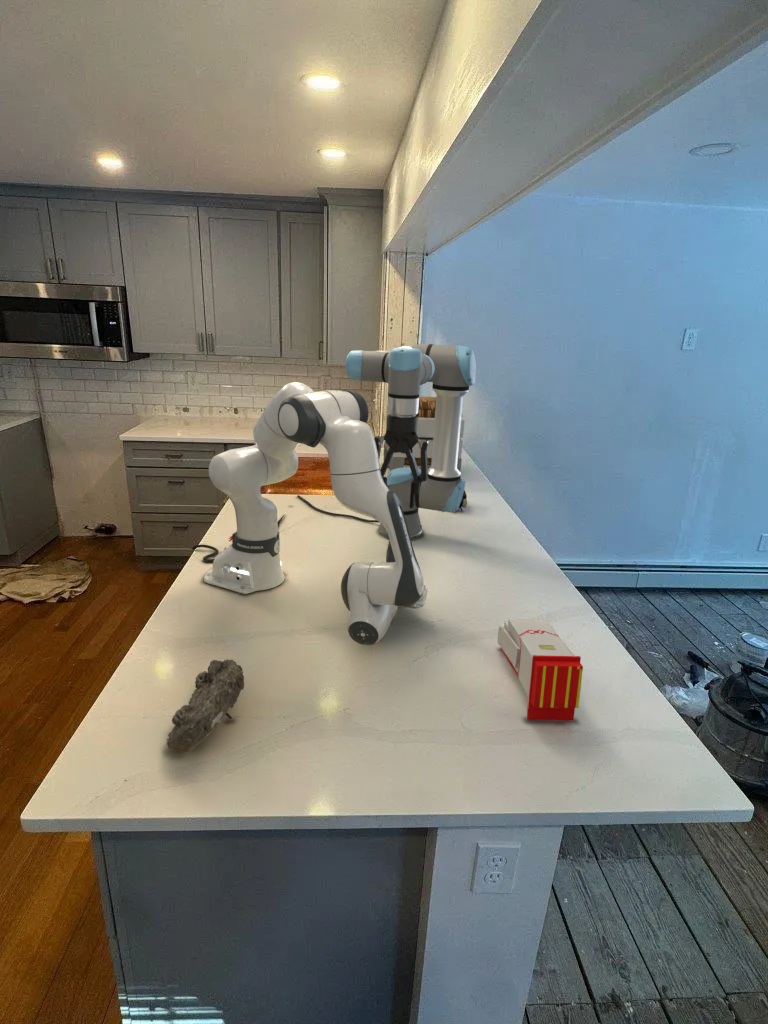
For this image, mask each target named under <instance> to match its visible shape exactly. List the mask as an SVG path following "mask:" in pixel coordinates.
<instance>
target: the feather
mask: <svg viewBox="0 0 768 1024" xmlns="http://www.w3.org/2000/svg"><path fill="white" fill-rule="evenodd" d="M285 515H286V514H283V515H282V516H281V518H279V519H278V520H277V522H278V527H279V526H280V524H281V522H282V520H283V519H284V516H285Z"/></svg>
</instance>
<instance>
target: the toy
mask: <svg viewBox="0 0 768 1024" xmlns="http://www.w3.org/2000/svg"><path fill="white" fill-rule="evenodd" d="M498 626H499V627H498V634H497V644H498V646H500V650H501V652H502V653H503V655H504V657H505V658H506V661H508V663H509V665H510V667H511V668H512V670H513V671H514V673H515V675H516V677H518V680H519V682H520V684H521V686H522V687H523V690H524V692H525V693H526V695H527V697H528V702H527V703H528V704H527V712H526V720H527V721H562V722H563V721H567V722H568V721H570V722H572V721H574V719H575V714H576V713H575V712H576V709H578V708H579V705H580V697H581V687H582V680H583V672H584V671H583V670H584V666H583V664H582V663H581V656H580V655H575V654H574V653H573V651H572V650H571V649H570V648H569V647H568V646H567V644H566V643H565V642H564V640H563V639H562V638H561V636H560V635H559V634H558V633H557V631H556V630H555V629H554V627H553V626H552V625H551V624H550V623H549V621H548V620H547V619H539V618H538V619H534V618H533V619H532V618H508V621H504V623H503V624H499V625H498Z"/></svg>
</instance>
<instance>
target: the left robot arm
mask: <svg viewBox="0 0 768 1024" xmlns="http://www.w3.org/2000/svg"><path fill="white" fill-rule="evenodd" d="M368 421H369V407H368V404H367V401H366V399H365V398H364V397H363V396H362V395H361V394H360V393H359V392H356V391H353V390H349V389H340V390H337V389H334V390H333V389H325V390H324V389H323V390H319V391H314V390H313V388H311V387H310V386H308V385H307V384H305V383H303V382H299V381H292V382H289V383H288V382H287V384H285V385H284V386H283V387H282V388H281V389H279V390H278V392H276V394H274V396H273V397H272V398H271V399H270V401H269V402H268V404H267V405H266V407H265V409H264V410H263V412H262V413H261V415H260V417H259V418H258V420H257V422H256V424H255V425H254V427H253V431H252V435H253V440H254V443H255V444H253V445H250V446H244V447H238V448H233V449H232V448H231V449H228V450H225V451H223V452H220V453H218V454H216V455H214V456H213V457H212V458H211V460H210V462H209V465H208V476H209V480H210V481H211V483H212V485H213V486H214V487H215V488H216V490H218V491H220V492H222V493H223V494H225V495H226V496H227V497H228V498H229V500H230V501H231V503H232V506H233V509H234V513H235V521H236V531H235V532H233V533H232V534H231V536H229V537H228V542H232V543H231V544H230V545H228V546H227V547H224V548H223V550H221V551H220V552H219V549H218V548H217V547H214V546H212V545H209V544H196V545H194V546H192V548H191V550H192V551H193V550H196V549H199V548H204V549H209V550H212V551H214V552H212V553H209V554H206V555H204V556H203V557H202V561H204V563H205V562H206V563H212V566H211V568H209V569H208V571H207V572H206V573H205V574H204V577H203V582H204V583H205V584H206V583H207V584H210V585H212V586H215V587H219V588H223V589H226V590H230V591H233V592H236V593H239V594H243V595H248V594H250V593H254V592H258V591H259V592H260V591H264V590H265V591H266V590H269V589H273V588H276V587H278V586H280V585H281V584H282V583H283V582H284V581H285V574H284V571H283V567H282V565H283V564H282V563H283V562H282V561H281V557H280V549H281V540H280V539H281V538H280V532H279V526H278V508H277V505H276V504H275V503H274V502H273V501H271V500H270V499H269V498H267V497H263V496H262V492H261V488H262V487H264V486H269V485H273V484H277V483H281V482H283V481H286V480H287V479H289V478H291V477H293V476H295V474H296V473H297V472H298V469H299V455H298V453H297V451H296V450H295V448H296V446H298V444H302V445H306V446H308V447H310V448H316V447H317V446H318V445H319V444H320V445H321V446H323V447H324V449H325V450H326V452H327V455H328V462H329V473H330V474H329V475H330V483H331V488H332V492H333V495H334V497H335V499H336V500H337V502H338V503H340V504H341V505H342V506H343V507H345V508H346V509H348V510H349V511H351V512H354V513H357V514H359V515H363V516H365V517H368V518H370V519H372V520H377V521H378V522H380V523H381V524H382V525H383V526H384V527H385V528H386V530H387V532H388V536H389V539H390V543H391V547H392V550H393V554H394V558H395V561H396V562H386V561H385V562H383V561H382V562H374V561H366V562H365V561H364V562H362V561H361V562H353V563H351V564H350V565H349V566H348V567H347V569H346V570H345V572H344V574H343V576H342V579H341V582H340V594H341V599H342V602H343V603H344V605H345V607H346V609H347V610H348V612H349V617H348V618H349V619H348V622H347V634H348V636H349V637H350V639H351V640H352V641H354V642H355V643H357V644H359V645H363V646H372V645H375V644H377V643H378V642H380V641H381V640H382V638H384V636H385V634H386V633H387V632H388V629H389V628H390V625H391V623H392V620H393V619H394V617H395V615H396V613H397V610H398V609H399V607H400V608H406V609H413V610H418V609H419V608H422V607H424V606H425V603H426V600H427V598H428V592H429V591H428V590H429V589H428V587H427V586H426V584H425V582H424V575H423V573H422V570H421V567H420V565H419V562H418V560H417V557H416V553H415V550H414V545H413V542H412V539H411V538H410V534H409V531H408V527H407V523H406V520H405V516H404V513H403V510H402V507H401V504H400V501H399V499H398V497H397V495H396V494H395V493H394V492H392V491H390V490H389V489H388V488H387V486H386V485H385V483H384V481H383V479H382V476H381V472H380V469H381V464H380V459H379V456H378V451H377V446H376V442H375V436H374V433H373V429H372V427H371V426H370V425H369V424H368ZM380 523H379V524H380ZM214 556H215V557H214ZM212 557H214V558H212Z"/></svg>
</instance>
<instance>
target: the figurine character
mask: <svg viewBox="0 0 768 1024" xmlns="http://www.w3.org/2000/svg"><path fill="white" fill-rule="evenodd" d="M467 495H468V494H467V493H466V490H465V489H464V493H463V497H462V500H461V503H460V505H459V507H458V509H459V510H460V512H463V509H464V508H465V509H466V508H467V506H468V499H467V497H468V496H467ZM458 509H457V510H458Z"/></svg>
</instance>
